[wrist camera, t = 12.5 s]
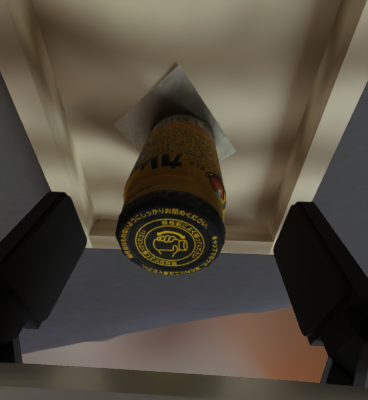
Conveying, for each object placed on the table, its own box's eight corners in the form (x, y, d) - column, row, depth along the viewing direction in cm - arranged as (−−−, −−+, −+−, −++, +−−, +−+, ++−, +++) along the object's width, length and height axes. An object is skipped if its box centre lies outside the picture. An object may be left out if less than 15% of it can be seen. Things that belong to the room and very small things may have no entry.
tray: (-13, -64, 13) (-71, -95, 10) (389, -60, 12) (447, -91, 10) (87, 226, 27) (75, 247, 24) (276, 232, 27) (286, 255, 24)
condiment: (174, 189, 22) (161, 299, 13) (114, 124, 18) (27, 210, 9) (236, 150, 20) (278, 253, 10) (179, 63, 16) (159, 93, 6)
